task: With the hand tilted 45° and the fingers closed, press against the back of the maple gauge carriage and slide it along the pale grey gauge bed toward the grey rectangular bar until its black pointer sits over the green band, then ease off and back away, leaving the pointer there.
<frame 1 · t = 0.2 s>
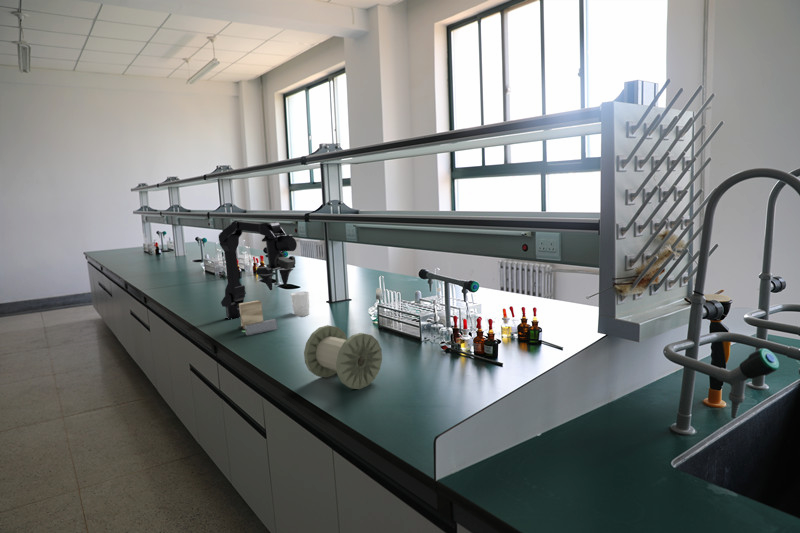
hand: (278, 287, 222), 15 cm above the counter, tool pointing down, fingers open, 9 cm apart
gauge carriage: (249, 315, 213), point 6 cm above the counter, slide at 0.0 cm
gauge bed: (253, 329, 214), on the counter
white cup: (301, 315, 235), on the counter
grey rectangular bar: (261, 332, 205), resting on gauge bed
spool: (345, 381, 150), on the counter
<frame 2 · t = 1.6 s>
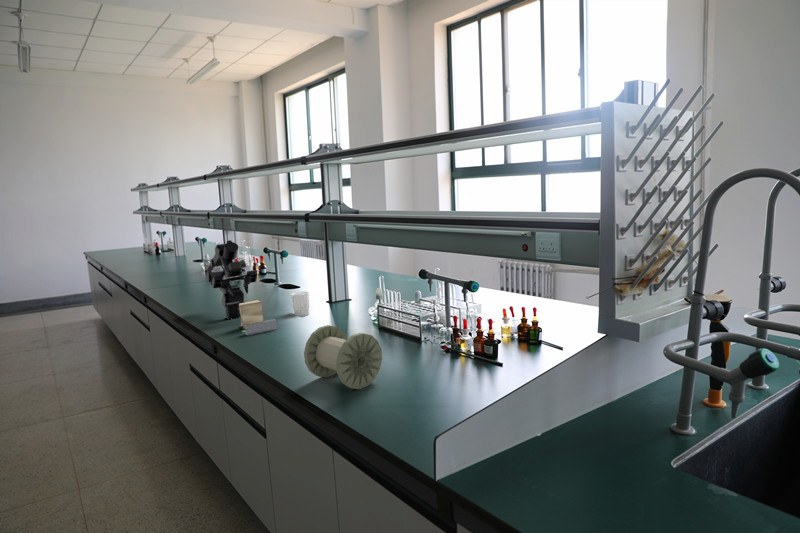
hand: (240, 294, 223), 13 cm above the counter, tool tilted 45°, fingers open, 6 cm apart
nothing on the counter moved.
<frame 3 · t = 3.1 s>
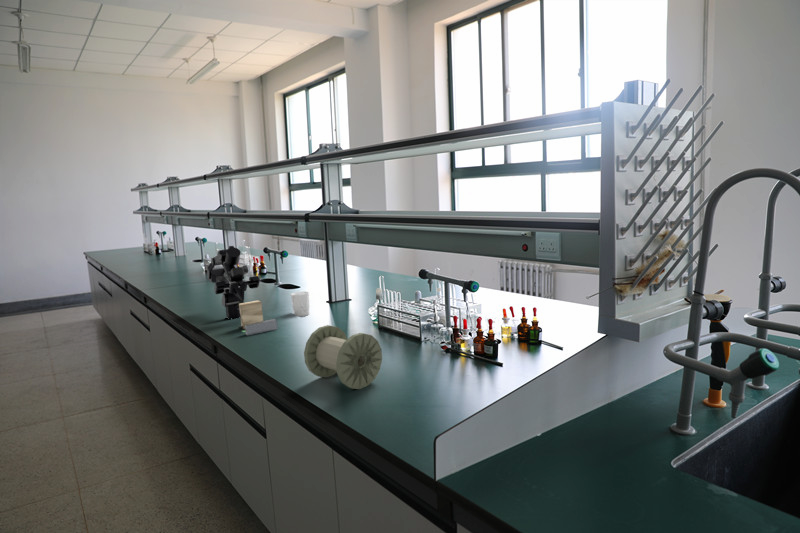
hand: (243, 300, 221), 11 cm above the counter, tool tilted 45°, fingers closed
nothing on the counter moved.
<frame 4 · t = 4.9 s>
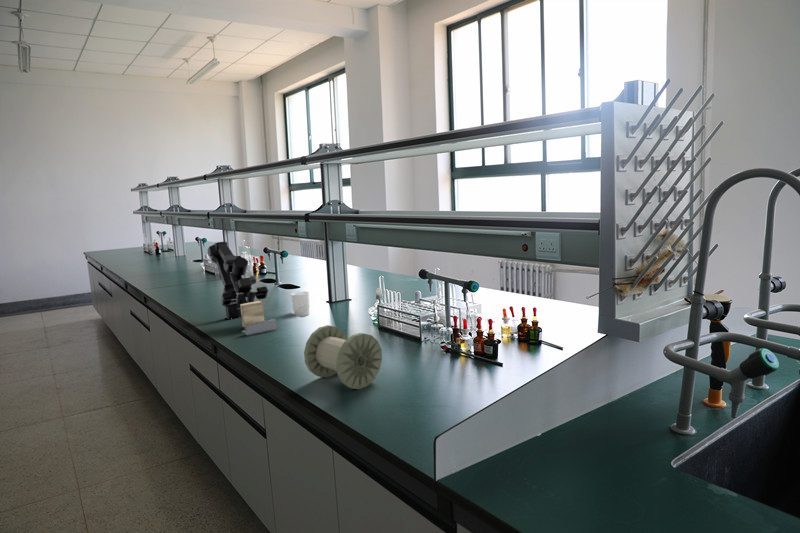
hand: (250, 311, 214), 7 cm above the counter, tool tilted 45°, fingers closed, pressing on gauge carriage
gauge carriage: (250, 315, 212), point 6 cm above the counter, slide at 1.7 cm, touching gripper
everything else where it was.
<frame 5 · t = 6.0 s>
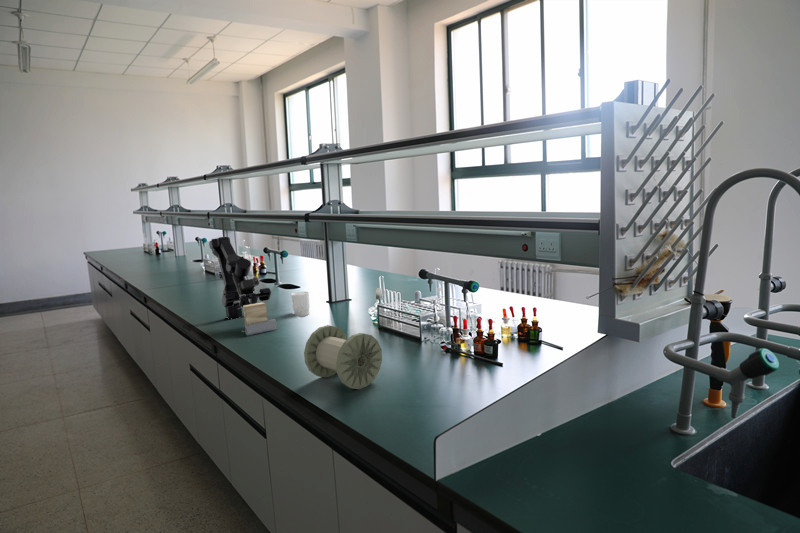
hand: (253, 313, 211), 7 cm above the counter, tool tilted 45°, fingers closed, pressing on gauge carriage
gauge carriage: (253, 317, 209), point 6 cm above the counter, slide at 5.5 cm, touching gripper
everything else where it was.
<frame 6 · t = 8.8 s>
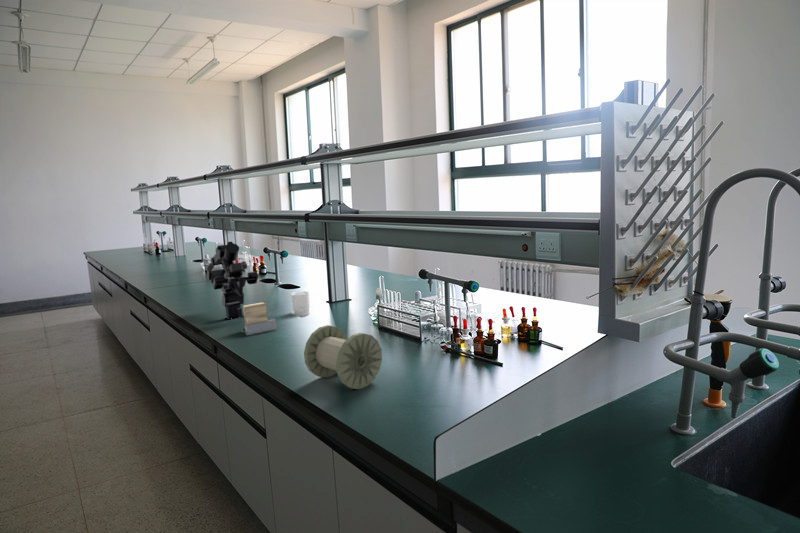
hand: (241, 295, 223), 13 cm above the counter, tool tilted 45°, fingers closed
gauge carriage: (253, 317, 209), point 6 cm above the counter, slide at 5.5 cm
everything else where it was.
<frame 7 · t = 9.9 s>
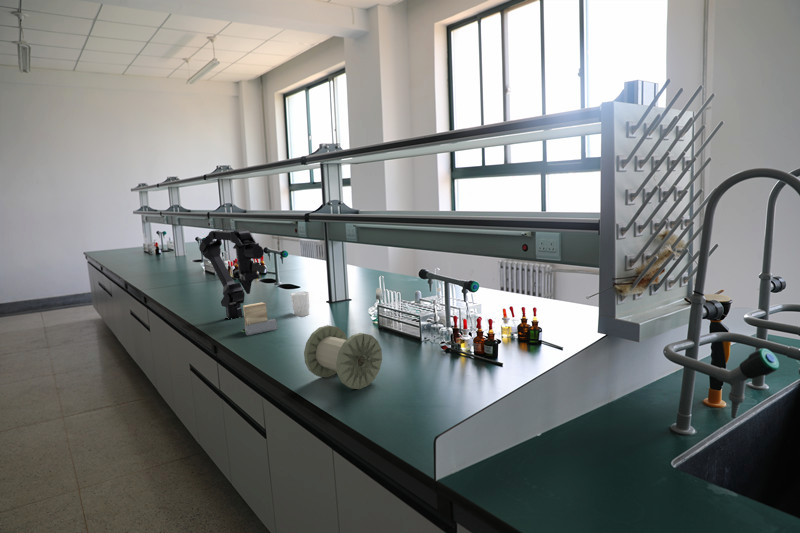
hand: (248, 293, 228), 12 cm above the counter, tool pointing down, fingers closed
nothing on the counter moved.
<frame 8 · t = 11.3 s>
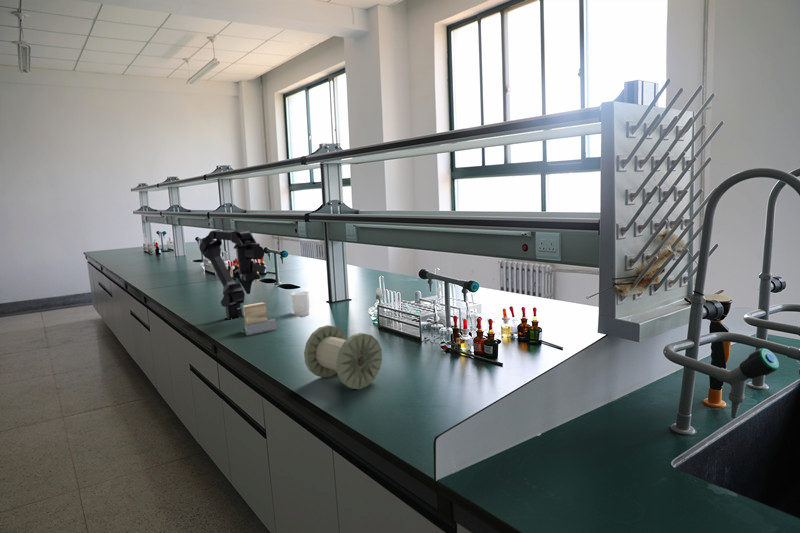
hand: (248, 294, 228), 12 cm above the counter, tool pointing down, fingers closed
nothing on the counter moved.
at the end: gauge carriage slide at 5.5 cm; white cup moved 0.2 cm from its start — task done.
